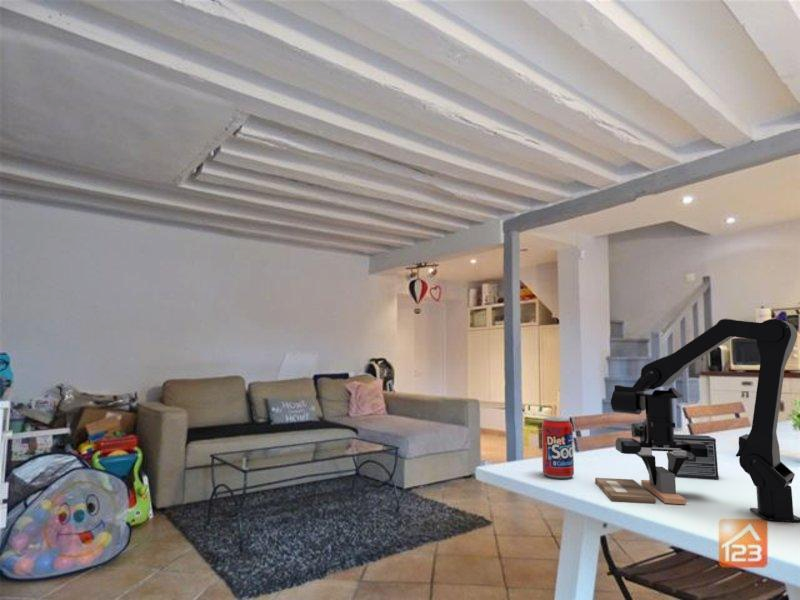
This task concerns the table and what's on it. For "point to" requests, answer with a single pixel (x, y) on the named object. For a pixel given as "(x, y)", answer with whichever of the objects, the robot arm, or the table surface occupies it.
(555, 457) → the soda can
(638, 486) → the brown flat board
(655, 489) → the stub
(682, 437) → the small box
